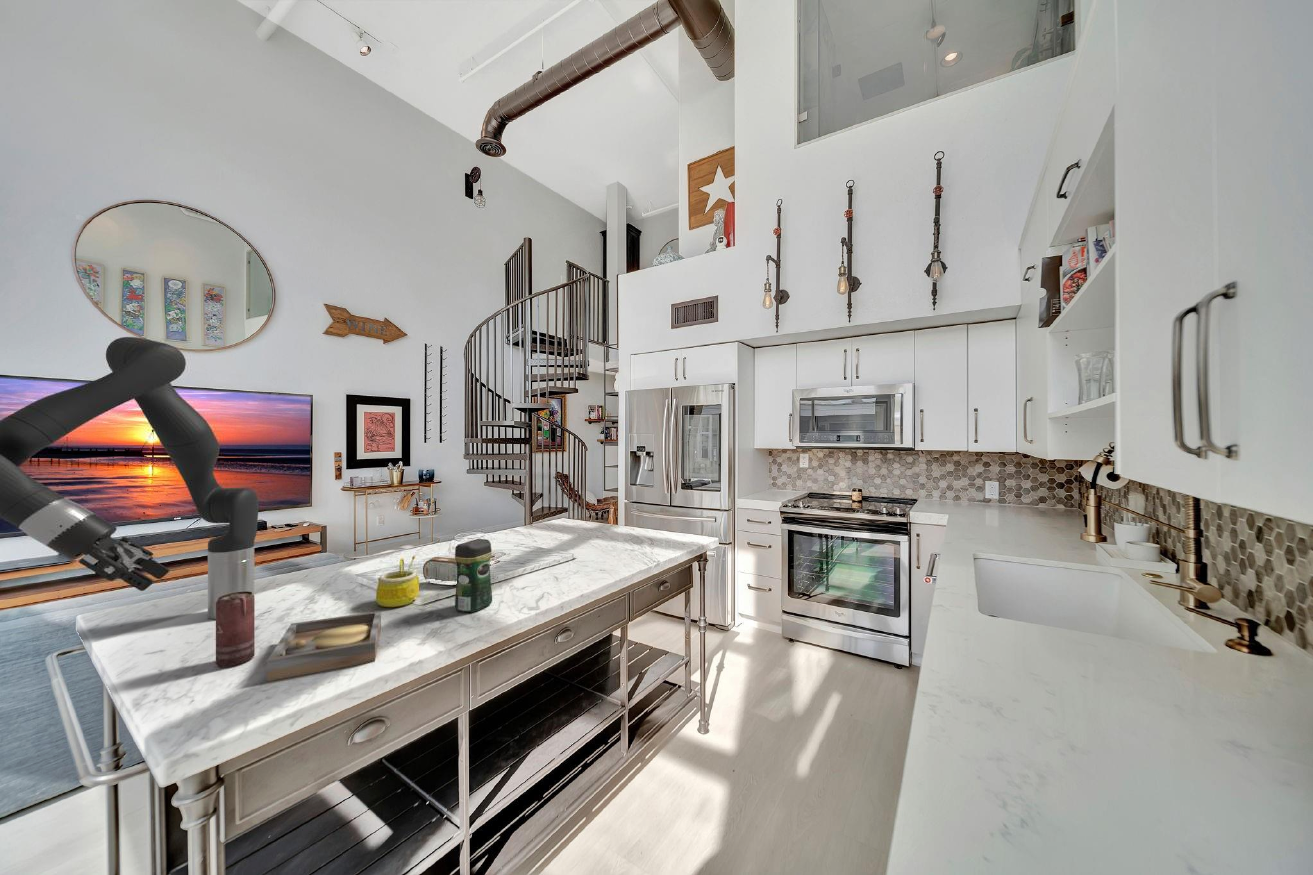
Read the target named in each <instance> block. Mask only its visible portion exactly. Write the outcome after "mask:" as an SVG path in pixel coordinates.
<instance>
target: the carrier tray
mask: <svg viewBox="0 0 1313 875" xmlns="http://www.w3.org/2000/svg"><path fill="white" fill-rule="evenodd" d="M381 628H382V610H377V611H370V612H362V613H355V614H351V615H350V614H349V615H344V616H343V615H342V616H335V617H328V618H322V619H313V620H309V621H307V620H306V621H300V622H299V621H298V622H294V623H290V625H289V626H288V627H287V629H286V631H285V633H284V634H283V636H282V637H281V638H280V639H279V642H278V643H277V645H276V646H275V648H274V649H273V651H271V652H272V653H271V654H270V656H269V657H268V658H267V660H266V682H272V681H277V680H283V679H288V678H293V677H299V676H303V675H308V674H314V673H319V672H326V671H330V670H331V671H332V670H336V669H342V668H347V667H353V666H358V665H363V664H368V663H374V662H376V657H377V652H378V647H379V640H380V635H381Z"/></svg>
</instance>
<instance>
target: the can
mask: <svg viewBox="0 0 1313 875" xmlns="http://www.w3.org/2000/svg"><path fill="white" fill-rule="evenodd" d="M255 602H256V601H255V594H254V595H253V594H252V592H248V591H244V592H235V593H230V594H226V595H223V596H221V597H219V598H218V600H217V602H216V619H215V665H216V666H217V667H218V668H223V669H225V668H227V669H228V668H234V667H236V666H241V665H244V664H246V663H248V662H251V660H252V659H253V658H254V656H255V650H256V649H255V648H256V646H255V644H256V643H255V638H256V637H255V634H256V632H255V629H256V628H255V627H256V626H255V625H256V624H255V618H256V617H255V616H256V615H255Z"/></svg>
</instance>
